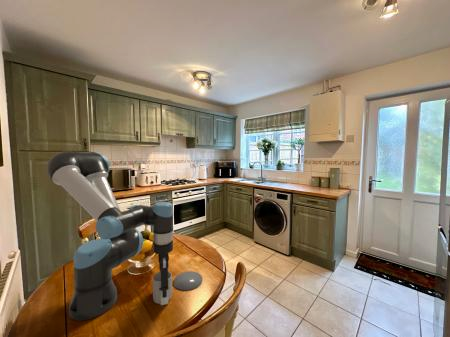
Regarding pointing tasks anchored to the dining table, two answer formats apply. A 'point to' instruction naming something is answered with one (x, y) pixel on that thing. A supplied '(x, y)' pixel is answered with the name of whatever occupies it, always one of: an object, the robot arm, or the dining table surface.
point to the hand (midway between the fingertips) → (163, 294)
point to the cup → (158, 285)
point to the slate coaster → (187, 280)
